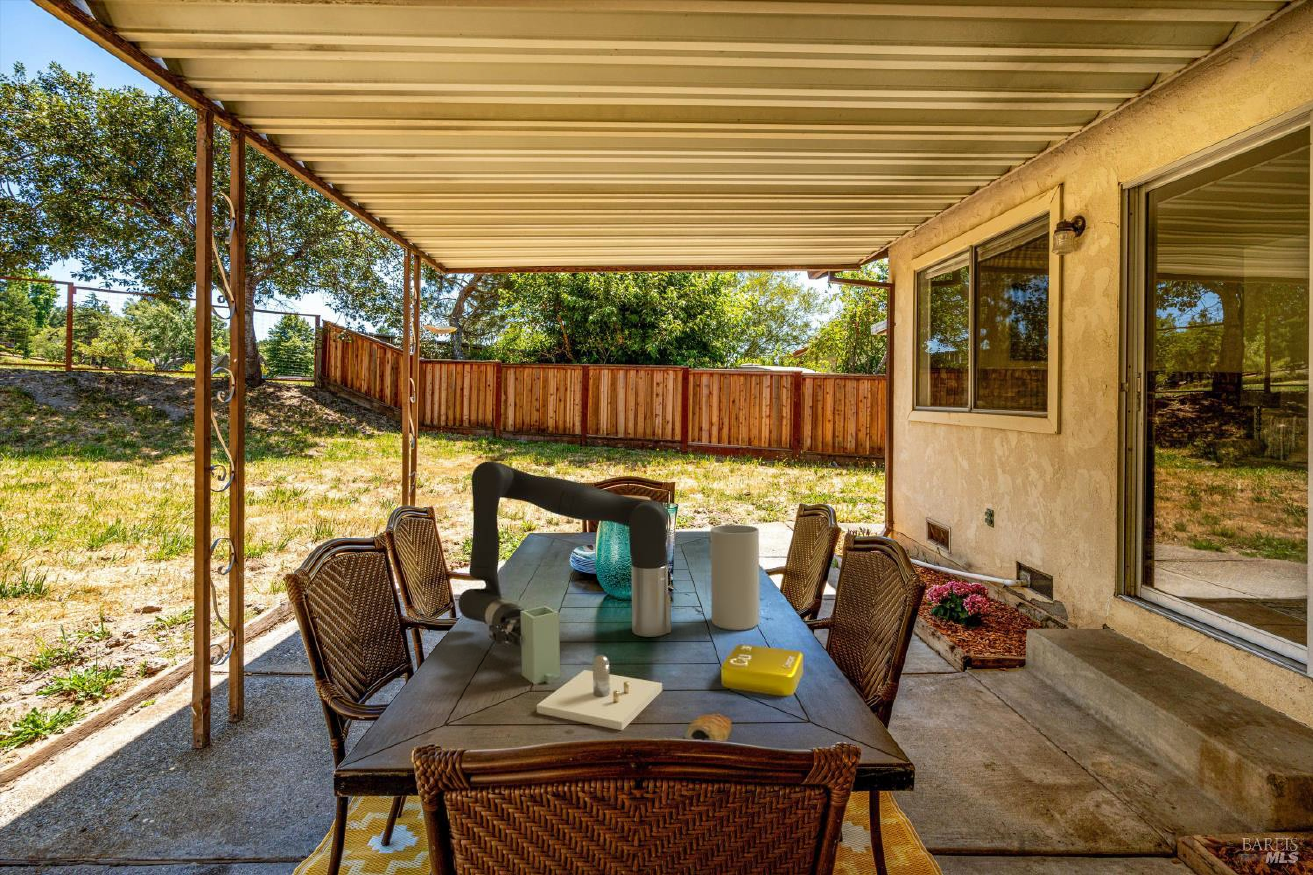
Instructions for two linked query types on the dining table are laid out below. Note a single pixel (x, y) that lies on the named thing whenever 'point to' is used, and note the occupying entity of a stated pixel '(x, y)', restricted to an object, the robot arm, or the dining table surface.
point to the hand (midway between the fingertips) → (537, 637)
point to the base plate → (600, 697)
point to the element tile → (762, 670)
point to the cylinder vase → (735, 576)
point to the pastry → (710, 728)
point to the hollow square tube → (540, 644)
